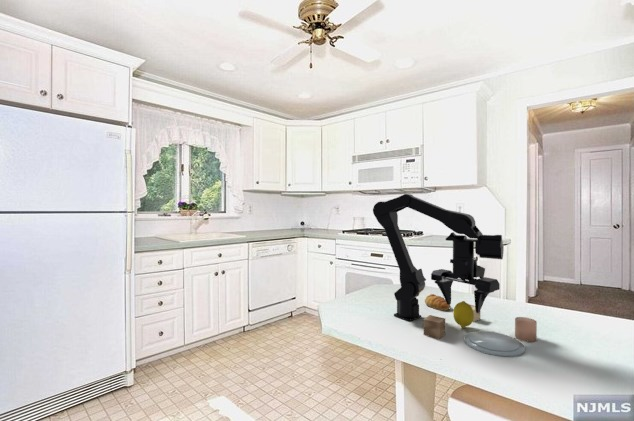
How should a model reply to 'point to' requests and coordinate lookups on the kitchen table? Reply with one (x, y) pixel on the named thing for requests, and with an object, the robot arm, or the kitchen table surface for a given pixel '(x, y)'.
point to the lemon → (463, 314)
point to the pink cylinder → (526, 329)
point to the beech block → (475, 314)
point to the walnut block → (434, 326)
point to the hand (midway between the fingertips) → (462, 308)
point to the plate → (494, 343)
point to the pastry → (437, 302)
